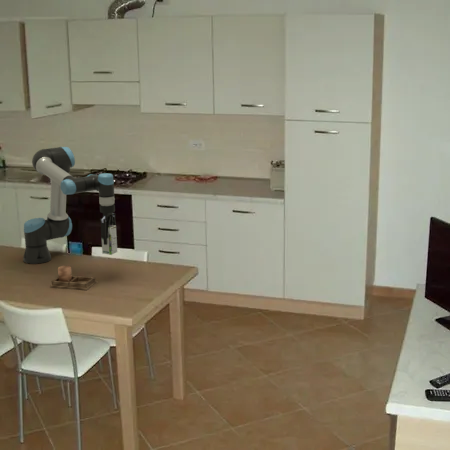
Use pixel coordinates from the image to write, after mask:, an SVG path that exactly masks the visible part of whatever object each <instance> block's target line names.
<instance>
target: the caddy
mask: <svg viewBox="0 0 450 450" xmlns="http://www.w3.org/2000/svg"><path fill="white" fill-rule="evenodd" d="M57 272H58V274H57V275H58V276H57V277H56V278H55V279H53V280H51V284H50V286H49V288H51V289H63V290H64V289H65V290H75V291H77V290H78V291H88V290H90V289H91V288H92V287H94V286H95V285H96V284H97V283H98V280H96V277H92V276H76V275H72V267H71V266H70V265H61V266H58V268H57Z"/></svg>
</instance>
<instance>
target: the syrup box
mask: <svg viewBox="0 0 450 450" xmlns="http://www.w3.org/2000/svg"><path fill="white" fill-rule="evenodd" d="M117 235H118V234H117V224H116V225H109V227H108V238H109V251H107V250H104V243H103V238H101V250H102V252H101V253H102V255H103V254H104V255H110V256H112V255H114V254H116V253H118V239H117V237H118V236H117Z"/></svg>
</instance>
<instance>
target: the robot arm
mask: <svg viewBox="0 0 450 450" xmlns="http://www.w3.org/2000/svg"><path fill="white" fill-rule="evenodd" d="M31 159H32V160H31V163H32V167H33V169H34V170H35V171H36V173H39V174H40V175H44V176H46V177H48V178H49V179H50V204H49V205H50V206H49V213H47V214H46V215H47V217H46V219H45V218H43V217H35V218H31V219H28V220H26V221H25V222H24V223H23V232H24V243H25V244H24V245H25V250H24V253H23V262H24V263H25V262H26V263H25V264H28V263H30V264H29V265H36V264H38V263H39V264H44V263H47V262H49V261H51V260H52V255H51V252H50V250H49V247H48V246H47V245H48V244H47V243H48V242H47V241H49V240H54V239H60V238H64V237H68V236H69V235H70V234H71V233H72V230H73V223H72V219H71V218H70V216H69V215H68V213H67V212H66V211H67V195H74V194H79V193H80V194H81V193H87V192H92V191H97V192H98V197H99V198H98V199H99V200H98V201H99V212H100V213H102V218H99V221H100V238H101V239H102V238H103V243H104V250H107V251H109V238H108V227H109V225H116V226H117V223H116V213H115V211H116V205H115V204H116V203H115V200H116V198H115V181H114V175H113V173H107V172H105V173H103V172H102V173H99V174H98V175H97V174H94V173H93V174H92V173H90V174H88V175H87V176H83V177H82V176H81V177H74V176H73V175H72V174H70V173H71V168H74V166H75V164H76V159H75V156H74V153H73V151H72V150H71V148H70V147H69V146H59V147H58V146H57V147H51V148H42V149H40V150H38V151H37V152H35V153H34V154H33V157H32V158H31Z"/></svg>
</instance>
